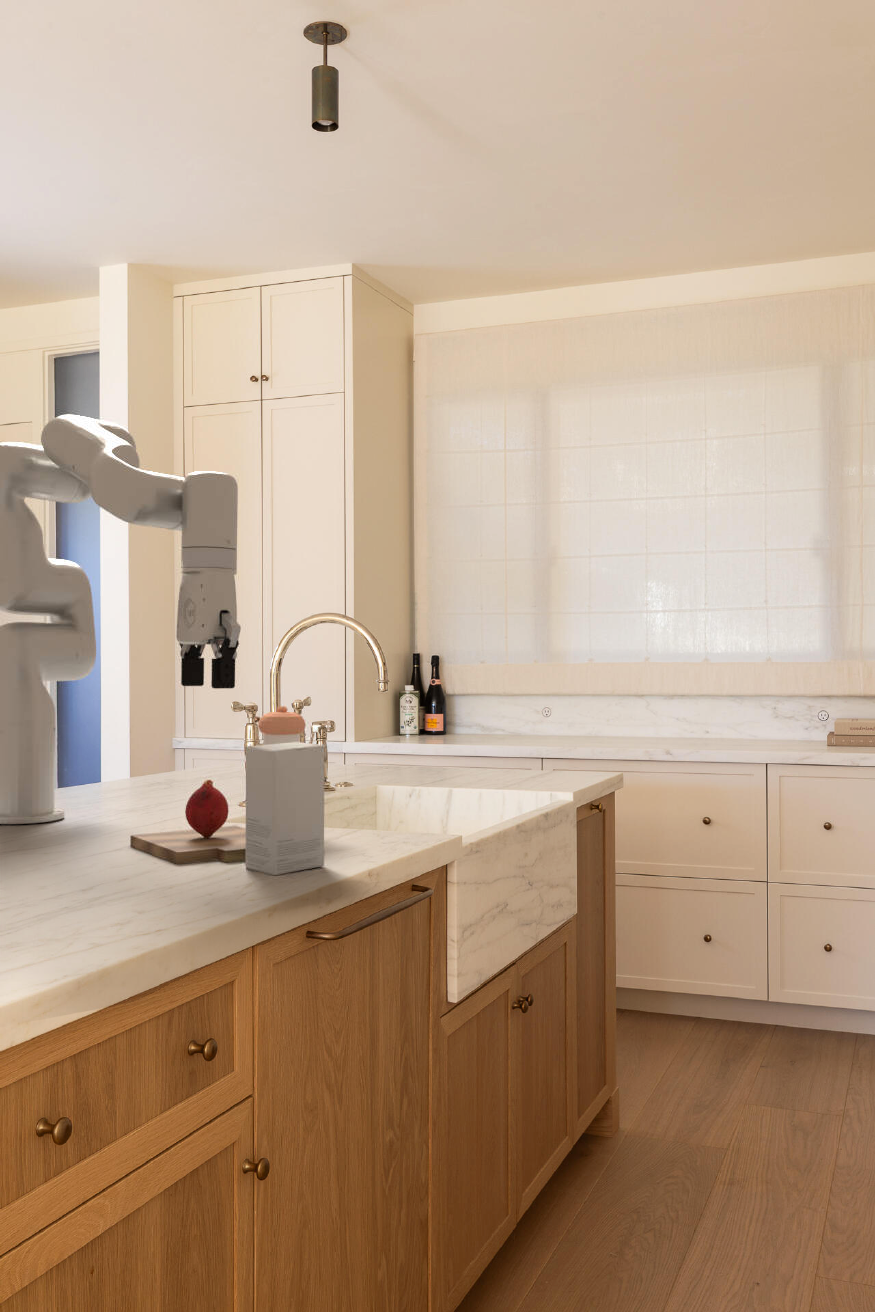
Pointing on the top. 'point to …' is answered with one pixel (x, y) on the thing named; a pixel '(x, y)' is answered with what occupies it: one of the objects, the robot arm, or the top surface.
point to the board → (194, 845)
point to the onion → (206, 809)
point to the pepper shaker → (281, 726)
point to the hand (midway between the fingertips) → (207, 687)
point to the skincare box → (284, 807)
